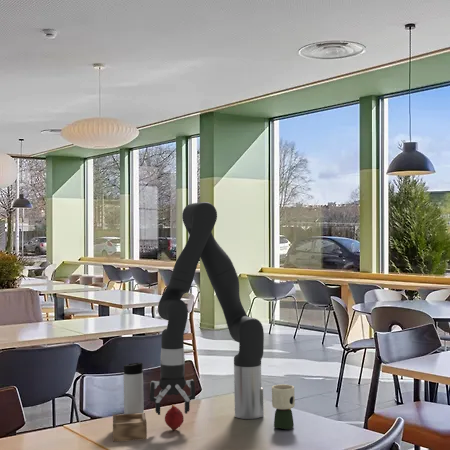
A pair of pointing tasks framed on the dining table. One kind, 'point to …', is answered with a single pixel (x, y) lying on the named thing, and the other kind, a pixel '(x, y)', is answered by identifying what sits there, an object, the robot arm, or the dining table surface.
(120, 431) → the base
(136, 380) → the travel mug
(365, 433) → the dining table surface
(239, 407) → the robot arm
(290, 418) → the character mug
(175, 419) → the onion
